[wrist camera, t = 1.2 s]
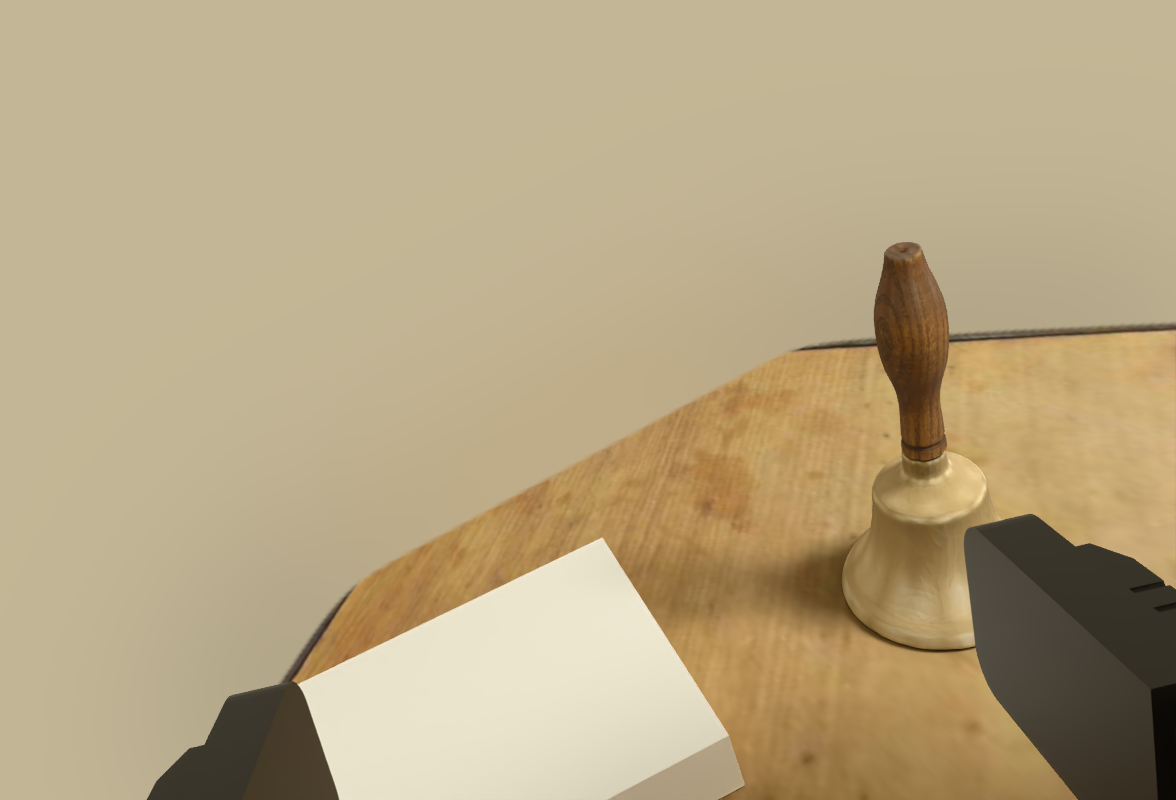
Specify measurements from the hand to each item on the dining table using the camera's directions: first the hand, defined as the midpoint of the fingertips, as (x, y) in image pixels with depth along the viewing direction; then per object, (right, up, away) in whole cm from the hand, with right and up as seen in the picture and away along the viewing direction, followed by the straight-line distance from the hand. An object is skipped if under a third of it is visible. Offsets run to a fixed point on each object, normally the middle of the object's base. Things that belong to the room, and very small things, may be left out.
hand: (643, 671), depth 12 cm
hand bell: (+15, -5, +32) cm, 36 cm away
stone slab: (-4, -12, +31) cm, 33 cm away
